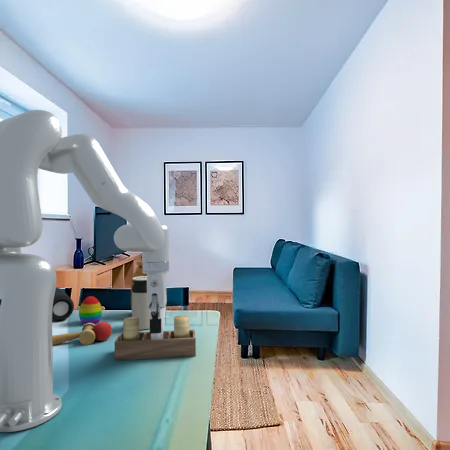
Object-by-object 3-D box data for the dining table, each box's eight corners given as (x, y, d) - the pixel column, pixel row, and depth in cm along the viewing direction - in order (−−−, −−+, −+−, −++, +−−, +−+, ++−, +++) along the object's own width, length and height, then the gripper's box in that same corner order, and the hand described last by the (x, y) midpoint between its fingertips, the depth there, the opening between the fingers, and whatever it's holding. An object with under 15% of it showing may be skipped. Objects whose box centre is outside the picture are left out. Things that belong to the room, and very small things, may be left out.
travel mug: (156, 328, 122) (156, 278, 122) (133, 331, 119) (133, 280, 119) (152, 322, 129) (152, 275, 129) (131, 325, 126) (130, 276, 126)
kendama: (49, 354, 102) (112, 340, 107) (47, 333, 103) (109, 319, 108) (55, 350, 110) (113, 336, 114) (53, 330, 110) (111, 317, 115)
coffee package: (133, 320, 133) (132, 263, 133) (129, 312, 144) (128, 260, 144) (158, 317, 137) (158, 262, 137) (153, 310, 148) (152, 259, 148)
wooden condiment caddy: (195, 355, 96) (195, 320, 96) (114, 360, 94) (114, 324, 94) (195, 345, 104) (194, 313, 104) (120, 349, 102) (120, 316, 101)
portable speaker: (75, 320, 134) (74, 295, 134) (47, 324, 129) (46, 298, 129) (65, 307, 156) (65, 285, 156) (41, 310, 150) (40, 287, 150)
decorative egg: (74, 324, 128) (73, 298, 128) (89, 318, 136) (89, 293, 136) (92, 326, 125) (91, 299, 125) (106, 320, 133) (106, 294, 133)
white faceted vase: (148, 352, 96) (150, 299, 95) (148, 346, 100) (149, 296, 100) (165, 351, 97) (166, 299, 97) (164, 345, 101) (165, 295, 101)
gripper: (167, 270, 91) (168, 338, 91) (170, 263, 108) (171, 320, 108) (138, 271, 90) (139, 340, 90) (146, 264, 107) (146, 321, 107)
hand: (156, 328), depth 99 cm, fingers open, 5 cm apart
